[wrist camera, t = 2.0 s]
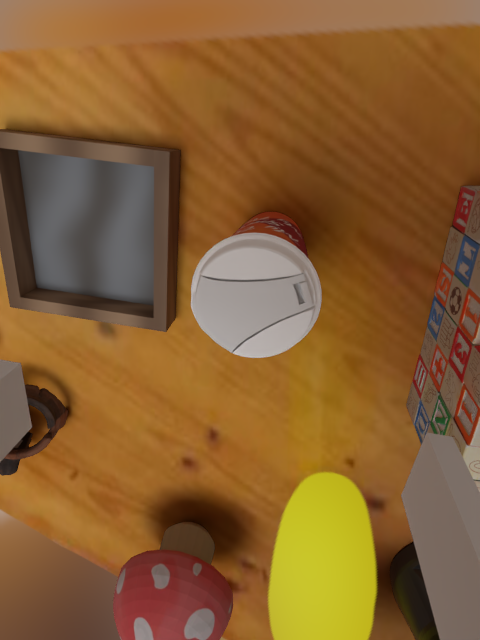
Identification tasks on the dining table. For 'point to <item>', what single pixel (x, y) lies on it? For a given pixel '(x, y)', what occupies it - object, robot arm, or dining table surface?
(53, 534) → the dining table surface
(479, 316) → the stack of blocks
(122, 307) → the tray
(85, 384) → the dining table surface
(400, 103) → the dining table surface
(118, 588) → the decorative mushroom
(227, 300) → the paper cup
